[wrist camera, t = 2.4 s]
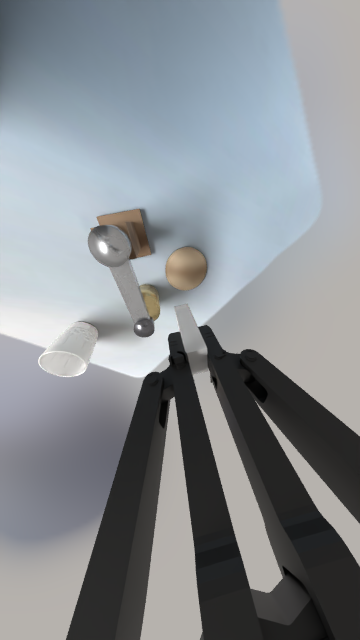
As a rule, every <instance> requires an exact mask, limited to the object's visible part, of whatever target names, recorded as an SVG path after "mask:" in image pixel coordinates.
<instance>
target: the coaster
mask: <svg viewBox="0 0 360 640" xmlns="http://www.w3.org/2000/svg"><path fill="white" fill-rule="evenodd" d="M206 271H207V264H206V260H205V258H204V256H203V255H202V254H201V253H200V252H199V251H198V250H196V249H194V248H191V247H183V248H180V249H178V250H176V251H174V252H173V253H172V254H171V255H170V257H169V258H168V260H167V263H166V276H167V279H168V281H169V283H170V284H171V285H172V286H173V287H175V288H176V289H179V290H191V289H193V288H195V287H197V286H198V285H199V284H200V283H201V282H202V281H203V279H204V277H205V275H206Z"/></svg>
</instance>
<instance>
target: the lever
mask: <svg viewBox="0 0 360 640" xmlns="http://www.w3.org/2000/svg"><path fill="white" fill-rule="evenodd" d="M88 246H89V249H90V252H91V253H92V255H93V256H94V258H95V259H96V260H97V261H98V262H100V263H101V264H103V265H105V266H107V267H109V268H110V270H111V272H112V275H113V277H114V279H115V281H116V283H117V286H118V288H119V290H120V292H121V294H122V297H123V299H124V301H125V303H126V306H127V308H128V310H129V312H130V314H131V317H132V319H133V321H134V323H135V325H134V332H135V334H136V335H138V336H140V337H149V336H151V335H152V334H153V333H154V320H153V318H152V317H151V316H150V315H149V312H148V309H147V307H146V304H145V301H144V298H143V295H142V292H141V290H140V287H139V284H138V281H137V278H136V275H135V272H134V270H133V267H132V264H131V261H130V258H129V256H130V254H131V251H132V245H131V241H130V239H129V237H128V235H127V234H126V233H125V232H124V231H123V230H122V229H121V228H119V227H117V226H114V225H101V226H97V227H95V228H94V229H92V231H91V232H90V234H89V237H88Z"/></svg>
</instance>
